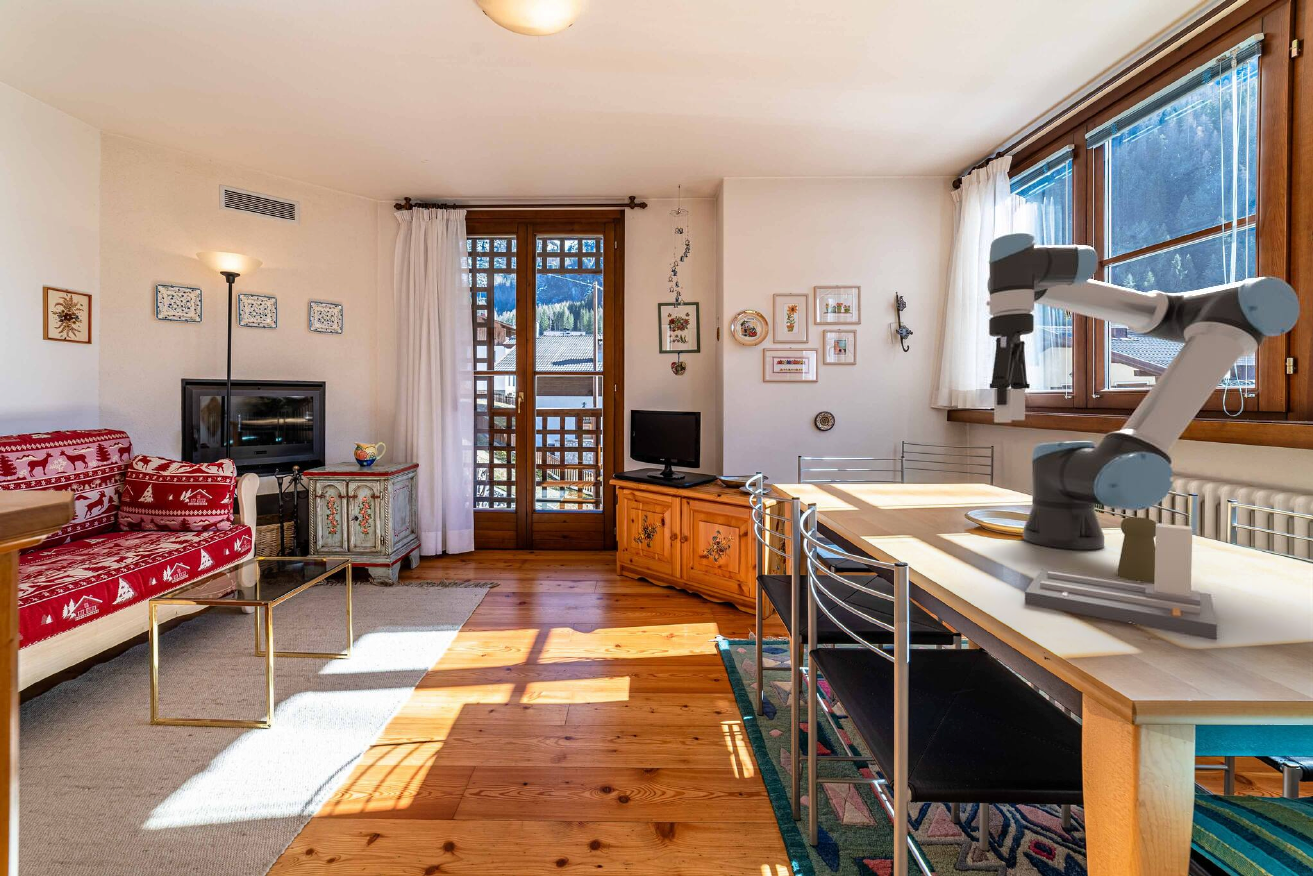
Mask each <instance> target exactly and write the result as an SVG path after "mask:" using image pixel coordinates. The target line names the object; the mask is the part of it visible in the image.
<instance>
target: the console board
mask: <svg viewBox="0 0 1313 876" xmlns="http://www.w3.org/2000/svg"><path fill="white" fill-rule="evenodd" d="M1146 584H1147V583H1141V582H1134V581H1133V582H1132V581H1125V580H1119V579H1113V578H1104V577H1099V576H1093V575H1091V576H1090V575H1085V574H1078V573H1073V572H1072V573H1071V572H1066V571H1065V572H1064V571H1059V570H1058V571H1056V570H1051V569H1044V568H1042V569H1040V571H1039V572H1038V573H1037V575H1036V576H1035V577H1034V579H1033V580H1032V582H1031V583H1029V586H1027V589H1026V590H1025V591H1024V604H1025V605H1028V606H1029V605H1030V606H1034V607H1041V608H1046V609H1051V610H1057V611H1061V612H1067V613H1074V614H1078V615H1083V616H1084V615H1085V616H1089V617H1093V618H1094V617H1095V618H1099V617H1100V619H1106V620H1109V621H1110V620H1112V621H1116V622H1122V623H1126V622H1131V623H1135V624H1134V625H1137V624H1139V625H1138V626H1142V625H1143V626H1142V627H1149V628H1154V629H1159V630H1165V631H1170V632H1175V633H1179V634H1180V633H1181V634H1187V635H1192V636H1197V637H1202V638H1207V639H1214V640H1217V638H1218V634H1217V633H1218V623H1217V618H1216V614H1215V608H1214V602H1213V599H1212V597H1213V596H1212V593H1207V592H1202V591H1201V592H1200V591H1198V592H1199V594H1200V606H1195V605H1189V604H1183V603H1176V602H1170V601H1164V600H1157V599H1151V598H1145V590H1146ZM1131 623H1130V624H1131Z"/></svg>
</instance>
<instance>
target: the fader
mask: <svg viewBox="0 0 1313 876" xmlns="http://www.w3.org/2000/svg"><path fill="white" fill-rule="evenodd" d="M1154 543H1155V581H1154V584H1150V583H1145V584H1146V590H1145V598H1151V599H1157V600H1164V601H1170V602H1176V603H1183V604H1189V605H1195V606H1200V594H1199V592H1200V591H1197V590H1192V558H1193V557H1192V556H1193V555H1192V554H1193V526H1190V525H1189V526H1188V525H1178V524H1169V523H1168V524H1166V523H1157V522H1156V536H1155V537H1154Z"/></svg>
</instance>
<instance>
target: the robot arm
mask: <svg viewBox="0 0 1313 876" xmlns="http://www.w3.org/2000/svg"><path fill="white" fill-rule="evenodd" d="M1098 262H1099V256H1098V253H1097V251H1096V250H1095V249H1094V248H1093V247H1091V246H1089V245H1078V244H1075V243H1073V244H1071V245H1070V244H1069V245H1067V244H1066V245H1065V244H1063V245H1036V240H1035V235H1034V234H1033V233H1028V232H1015V233H1014V232H1013V233H1009V234H1005V235H1001V236H1000V237H997V238H995V239H994V240H993V241H992V242H991V243H990V249H989V260H988V264H989V267H988V268H989V277H988V280H987V284H986V285H987V291H988V293H989V300H987V301H986V302H985V303H986V306H989V315H990V316H991V317H990V319H988V323H989V324H988V325H989V326H988V327H989V328H988V330H989V331H988V334H989V336H990V337H995V342H996V343H995V345H996V346H995V353H994V363H993V369H992V378H991V382H990V383H989V389H991V390H992V389H993V390H994V395H993V396H994V397H993V398H994V400H993V401H994V402H993V404H994V412H993V414H994V415H993V416H994V417H993V419H994V420H993V423H1012V421H1025V420H1026V389H1030V383H1028V381H1027V380H1028V379H1027V378H1028V377H1027V367H1026V366H1027V365H1026V355H1025V354H1026V353H1025V352H1026V351H1025V345H1026V343H1025V341H1024V340H1021V336H1022V335H1023V336H1024V335H1030V334H1032V333H1033V332H1034V328H1035V327H1034V323H1035V322H1034V319H1035V316H1034V315H1033V314H1032V312H1033V311H1034V310H1035V304H1038V305H1041V306H1046V307H1049V308H1055V309H1058V310H1062V311H1066V312H1070V313H1073V314H1078V315H1081V316H1082V315H1083V316H1085V317H1089V318H1094V319H1098V320H1101V321H1106V322H1108V323H1109V322H1111V323H1114V324H1118V325H1121V326H1125V327H1126V326H1127V328H1128V330H1129V331H1130V332H1132V333H1134V334H1138V335H1141V336H1142V335H1143V336H1146V337H1151V338H1155V339H1160V340H1163V341H1167V342H1173V343H1178V344H1179V343H1180V344H1184V345H1183V346H1182V347H1181V349H1180V350H1179V351H1178V353H1177V354H1176V356H1175V357H1174V358H1173V359H1172V361H1171V362H1170V363H1169V364H1168V365H1167V368H1166V369H1165V370H1164V372H1163V373H1162V374H1161V376H1159V378H1158V380H1157V381H1156V382H1155V384H1154V385H1153V386H1152V388H1151V389H1150V390H1149V392H1148V393H1147V394H1146V396H1145V397H1144V398H1143V399H1142V401H1141V402H1140V403H1139V405H1138V406H1137V407H1136V409H1135V410H1134V412H1133V413H1132V414H1131V416H1130V417H1129V418H1128V420H1127V421H1126V422H1125V423H1124V424H1123V426H1122V427H1121V428H1120V430H1116V431H1111V432H1108V433H1106V434H1105V435H1104V437H1103V438H1102V440H1101V441H1100V442H1099V444H1098V445H1096V442H1094V441H1093V440H1080V441H1079V440H1078V441H1077V440H1076V441H1063V442H1062V441H1059V442H1058V441H1057V442H1047V443H1039V444H1037V445H1035V447H1034V448H1033V452H1032V459H1031V463H1032V466H1031V467H1032V474H1031V475H1032V504H1031V510H1030V512H1029V514H1028V517H1027V519H1026V521H1025V524H1024V526H1023V529H1022V533H1023V534H1022V538H1023V540H1024V541H1026V542H1028V543H1031V544H1035V545H1039V546H1043V547H1049V548H1057V549H1066V550H1085V551H1086V550H1097V549H1102V548H1104V547H1105V534H1104V532H1103V529H1102V527H1101V525H1100V521H1099V519H1098V516H1097V512H1096V505H1099V506H1102V507H1103V506H1104V507H1107V508H1110V509H1113V510H1127V511H1142V510H1147V509H1149V508H1152V507H1154V506H1156V505H1158V504H1159V503H1161V502H1162V501H1163V500H1164V499H1165V498H1166V497H1167V496H1168V494H1169V493H1170V491H1171V489H1172V486H1173V483H1174V481H1173V480H1172V479H1171V478H1172V477H1173V476H1174V472H1173V469H1172V468H1173V467H1172V466H1171V464H1172V463H1173V458H1172V455H1171V454H1170V452H1169V451H1170V450H1171V449H1172V448H1173V446H1174V445H1175V444H1176V442H1177V441H1178V439H1179V438H1180V437H1181V436H1182V434H1183V433H1184V432H1185V431H1186V429H1187V428H1188V426H1189V424H1190V423H1191V422H1192V421H1193V420H1194V418H1195V417H1196V415H1197V414H1198V413H1199V411H1200V410H1201V409H1202V407H1203V406H1204V405H1205V403H1206V402H1207V401H1208V399H1209V398H1210V397H1211V395H1213V393H1214V391H1215V390H1216V389H1217V387H1218V386H1219V385H1220V384H1221V382H1222V381H1223V379H1224V378H1225V377H1226V375H1227V374H1228V373H1229V372H1230V370H1231V369H1232V368H1233V366H1234V364H1235V363H1236V362H1237V360H1239V359H1241V358H1246V357H1250V356H1251V355H1254V354H1255V352H1256V351H1257V350H1258V348H1259V347H1260V346H1261V345H1262V344H1263V342H1264V341H1265V340H1266V338H1268V337H1278V336H1280V335H1283V334H1286V333H1288V332H1289V331H1291V330H1292V329H1293V328H1294V326H1295V325H1296V324H1297V321H1298V319H1299V316H1300V303H1299V300H1298V299H1299V298H1298V295H1297V294H1296V292H1295V290H1294V289H1293V287H1292V286H1291V285H1290V284H1289V283H1287V282H1286V281H1284V280H1283V279H1281V278H1277V277H1273V276H1263V277H1256V278H1254V277H1253V278H1252V277H1251V278H1246V279H1244V280H1242V281H1238V282H1232V283H1228V284H1222V285H1215V286H1212V287H1211V286H1210V287H1207V288H1202V289H1197V290H1191V291H1184V292H1176V293H1172V292H1163V291H1160V290H1152V291H1148V292H1142V291H1138V290H1135V289H1131V288H1127V287H1123V286H1118V285H1114V284H1111V283H1107V282H1103V281H1098V280H1094V279H1091V278H1092V277H1093V276H1094V275H1095V273H1096V271H1097V270H1098V265H1099V264H1098Z"/></svg>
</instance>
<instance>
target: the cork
mask: <svg viewBox="0 0 1313 876" xmlns="http://www.w3.org/2000/svg"><path fill="white" fill-rule="evenodd" d="M1156 523H1157V522H1156V521H1155V520H1153V519H1150V518H1147V517H1139V516H1138V517H1137V516H1136V517H1135V516H1133V517H1126V518H1124V519H1122V520H1121V522H1120V530H1121V532H1122V533H1123V535H1124V536H1123V542H1122V545H1121V552H1120V555H1119V556H1120V557H1119V562H1118V568H1117V570H1116V571H1117V572H1116V576H1117V577H1118V578H1121V579H1122V580H1123V579H1124V580H1127V579H1128V580H1127V581H1131V582H1132V581H1133V582H1137V581H1140V582H1139V583H1146V584H1150V583H1152V584H1153V583H1154V581H1155V538H1156Z"/></svg>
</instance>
